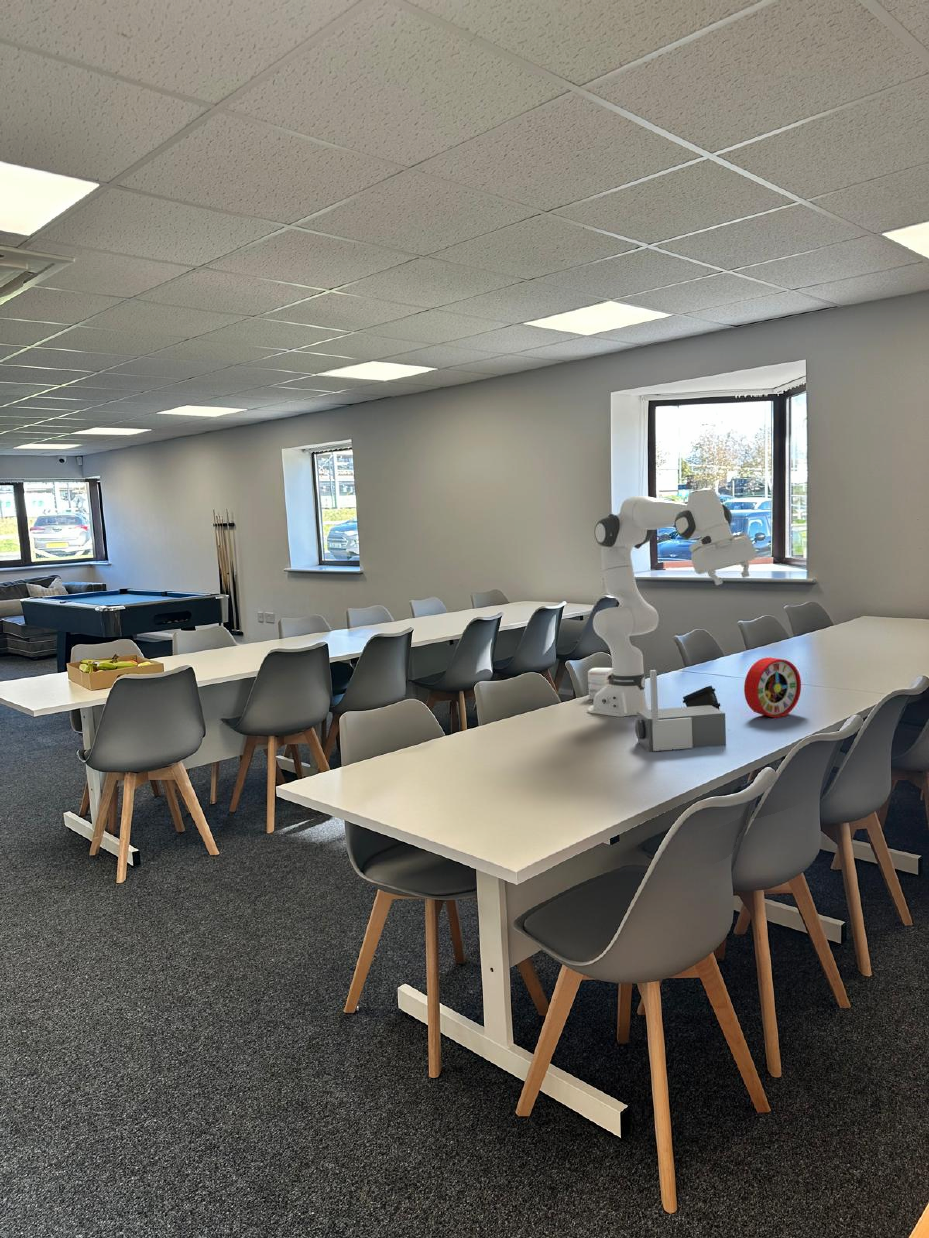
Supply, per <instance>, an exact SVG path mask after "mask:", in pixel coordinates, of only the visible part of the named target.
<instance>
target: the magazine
mask: <svg viewBox="0 0 929 1238" xmlns="http://www.w3.org/2000/svg"><path fill="white" fill-rule="evenodd" d="M715 691H716V687H715V688H713V686H712V685H708V686H704V687H703V688H701V689H698V690H696V691H694V692H691V693H689V694H687V695H685V696H683V697H682V699H683V700H682V703H683V704H684V705H685V707H693V706H706V705H711V706H713V707H715V708H717V709H719V710H720V711H721V709H720V707H721V706H722V705H721V703H719V702H718V699H717V698H718V697H717V695H716V693H715Z"/></svg>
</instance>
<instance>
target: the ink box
mask: <svg viewBox="0 0 929 1238" xmlns="http://www.w3.org/2000/svg"><path fill="white" fill-rule="evenodd" d="M612 673H613V667H592V668H590V669H589V670H588V671H587V682H588V683H587V684H588V685H587V686H588V700H590V699H593V701H594V697H595V695H596V694H597V693H598V692H599V691H600V690H601V689H603V688H604V687H605V686H606V685H607V684H609V679H608V680H607V677H608V676H609V675H611V674H612Z"/></svg>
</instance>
